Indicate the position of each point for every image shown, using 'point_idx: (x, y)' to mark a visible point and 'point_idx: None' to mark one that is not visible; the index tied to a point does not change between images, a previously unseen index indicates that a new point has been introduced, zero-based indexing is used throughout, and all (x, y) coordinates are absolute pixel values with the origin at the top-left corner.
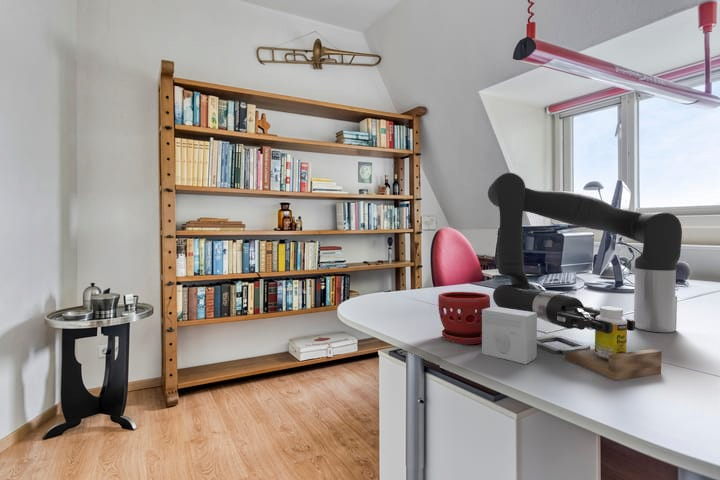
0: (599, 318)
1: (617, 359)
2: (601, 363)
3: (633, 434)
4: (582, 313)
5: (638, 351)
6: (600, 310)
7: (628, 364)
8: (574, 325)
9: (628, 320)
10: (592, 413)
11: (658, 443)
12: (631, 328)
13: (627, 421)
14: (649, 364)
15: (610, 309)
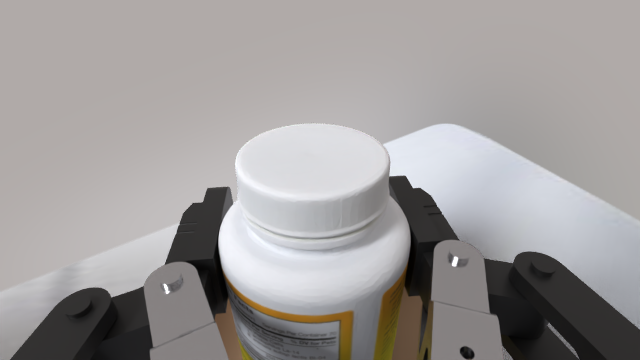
0: (405, 224)
1: None
2: (402, 338)
3: (508, 149)
4: (497, 328)
5: None
6: (384, 192)
7: None
8: (567, 354)
9: (226, 199)
10: (553, 185)
11: (484, 138)
12: None
13: (498, 166)
14: None
15: (355, 135)
